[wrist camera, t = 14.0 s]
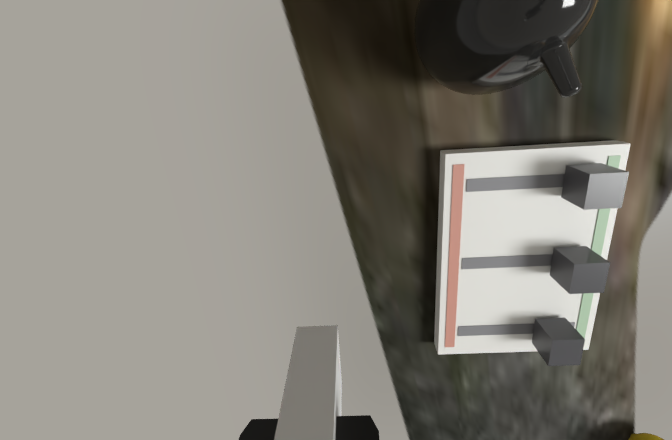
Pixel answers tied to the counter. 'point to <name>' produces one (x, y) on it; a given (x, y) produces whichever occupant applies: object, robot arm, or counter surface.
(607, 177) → the block
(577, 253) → the block
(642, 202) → the counter surface
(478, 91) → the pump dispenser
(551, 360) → the switch
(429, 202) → the counter surface
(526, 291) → the breaker panel
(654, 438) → the lemon
